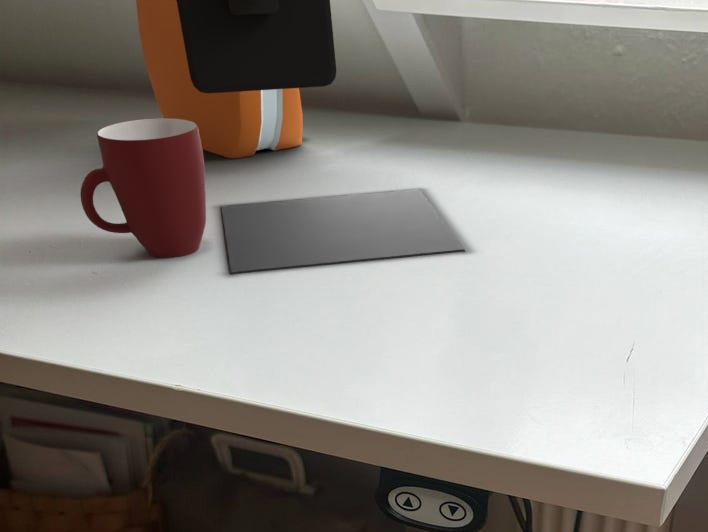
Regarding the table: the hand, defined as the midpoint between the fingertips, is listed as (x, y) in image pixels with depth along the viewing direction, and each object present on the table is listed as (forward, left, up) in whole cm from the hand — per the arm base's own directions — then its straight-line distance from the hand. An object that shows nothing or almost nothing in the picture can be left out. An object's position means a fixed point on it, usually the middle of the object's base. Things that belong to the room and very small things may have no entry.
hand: (252, 5), depth 64 cm
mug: (-10, +11, -19) cm, 25 cm away
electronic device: (0, 0, -5) cm, 5 cm away
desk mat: (+5, +13, -19) cm, 24 cm away
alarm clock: (-2, +53, -19) cm, 57 cm away
